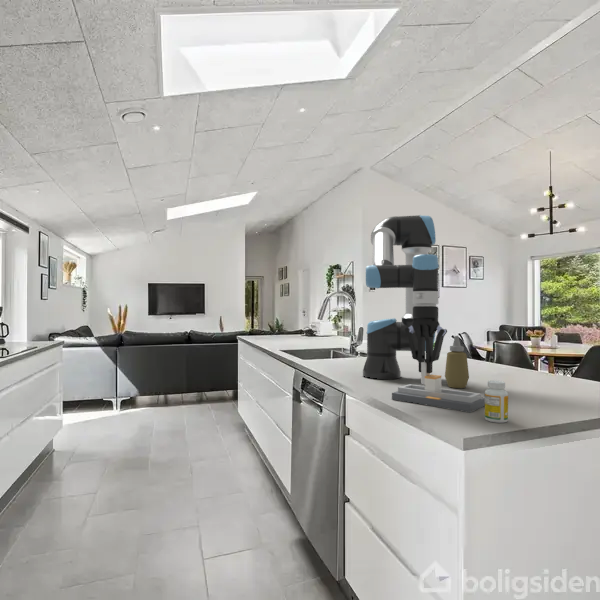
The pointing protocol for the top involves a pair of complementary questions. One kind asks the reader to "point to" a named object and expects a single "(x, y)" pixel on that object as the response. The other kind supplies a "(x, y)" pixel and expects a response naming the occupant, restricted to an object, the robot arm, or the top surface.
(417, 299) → the robot arm
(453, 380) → the squeeze bottle
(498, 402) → the supplement bottle
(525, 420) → the top surface
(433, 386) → the fader tab
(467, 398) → the console board
